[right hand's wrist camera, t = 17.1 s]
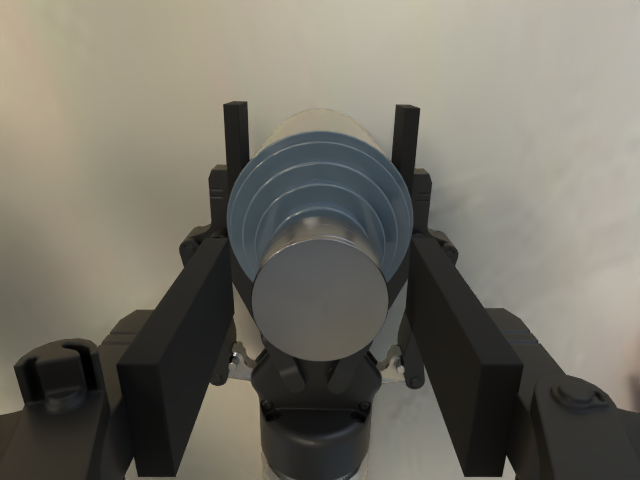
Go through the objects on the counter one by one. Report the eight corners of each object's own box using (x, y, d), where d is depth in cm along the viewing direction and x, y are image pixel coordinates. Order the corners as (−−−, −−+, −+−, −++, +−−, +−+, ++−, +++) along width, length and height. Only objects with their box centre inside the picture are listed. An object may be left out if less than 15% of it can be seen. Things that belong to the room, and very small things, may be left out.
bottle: (249, 120, 29) (146, 188, 12) (370, 98, 29) (447, 136, 11) (274, 233, 32) (221, 422, 15) (385, 215, 32) (465, 388, 14)
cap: (247, 227, 14) (235, 251, 12) (372, 206, 14) (380, 227, 12) (273, 333, 15) (267, 370, 13) (386, 316, 15) (396, 351, 13)
